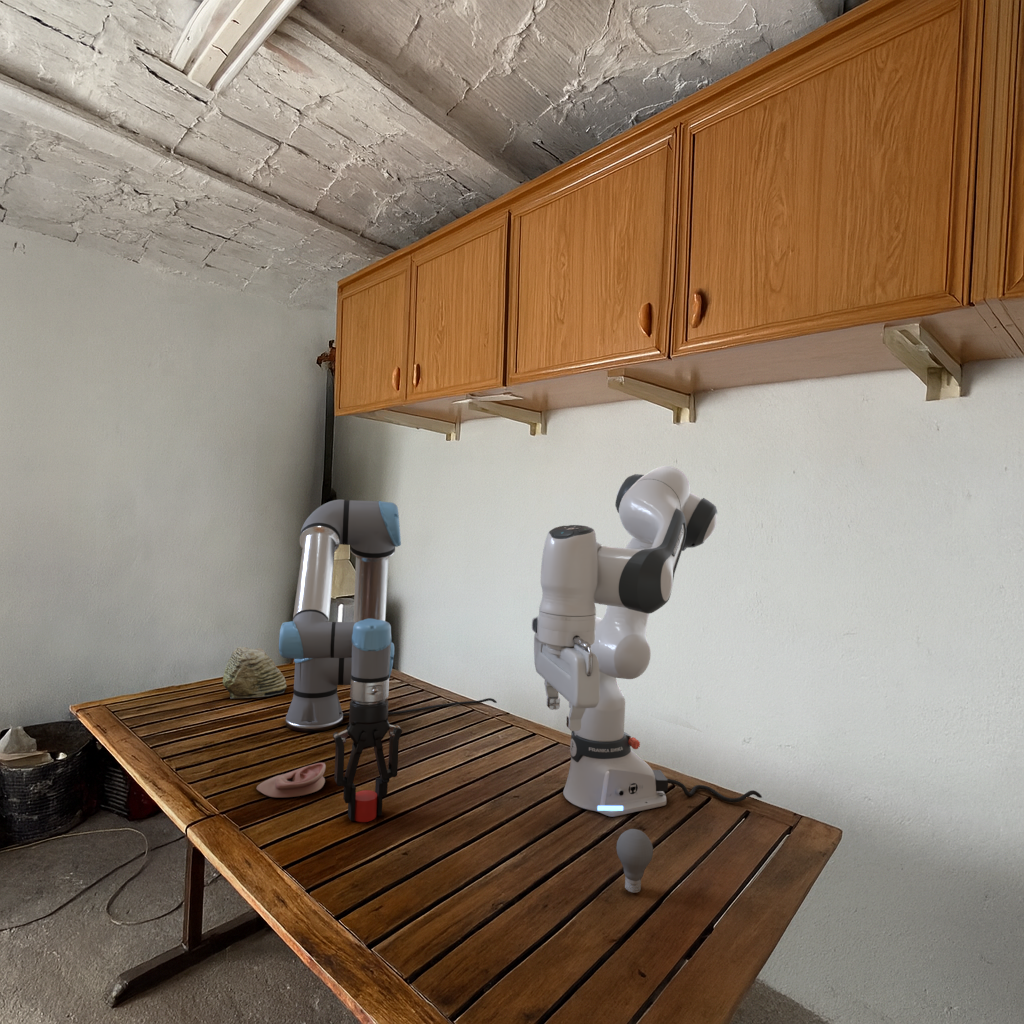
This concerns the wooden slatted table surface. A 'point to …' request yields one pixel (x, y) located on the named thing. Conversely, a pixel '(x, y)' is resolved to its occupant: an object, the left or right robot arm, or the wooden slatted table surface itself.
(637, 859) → the light bulb
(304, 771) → the anatomical model
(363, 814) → the red cylinder
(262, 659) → the fossil
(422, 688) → the wooden slatted table surface
